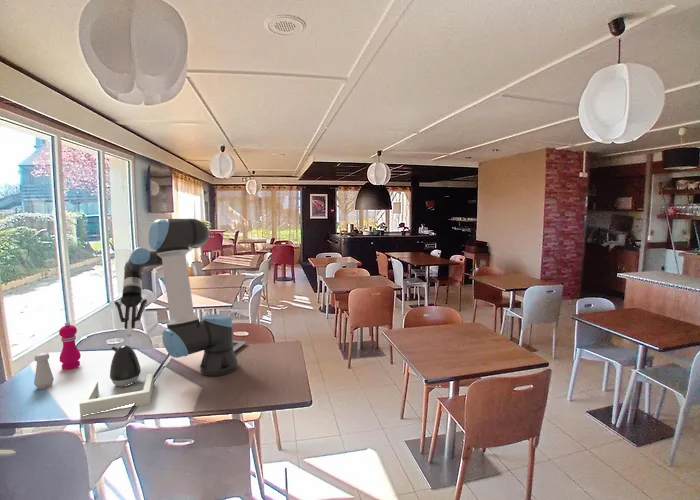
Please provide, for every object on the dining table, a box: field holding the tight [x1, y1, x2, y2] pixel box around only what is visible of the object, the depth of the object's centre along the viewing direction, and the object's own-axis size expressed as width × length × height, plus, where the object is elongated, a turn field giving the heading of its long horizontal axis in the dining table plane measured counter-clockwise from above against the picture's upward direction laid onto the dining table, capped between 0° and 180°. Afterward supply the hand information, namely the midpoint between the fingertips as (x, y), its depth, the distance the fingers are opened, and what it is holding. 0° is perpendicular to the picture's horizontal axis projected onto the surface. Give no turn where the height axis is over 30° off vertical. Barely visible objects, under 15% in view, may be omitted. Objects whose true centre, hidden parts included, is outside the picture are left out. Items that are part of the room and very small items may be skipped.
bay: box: [79, 372, 155, 417], centre depth 131 cm, size 16×20×4 cm
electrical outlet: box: [233, 340, 248, 353], centre depth 178 cm, size 13×10×2 cm
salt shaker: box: [33, 352, 54, 390], centre depth 139 cm, size 6×6×13 cm
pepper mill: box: [58, 321, 82, 371], centre depth 156 cm, size 7×7×20 cm
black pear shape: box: [109, 345, 142, 387], centre depth 142 cm, size 10×10×15 cm
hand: (129, 334), depth 158 cm, fingers closed
